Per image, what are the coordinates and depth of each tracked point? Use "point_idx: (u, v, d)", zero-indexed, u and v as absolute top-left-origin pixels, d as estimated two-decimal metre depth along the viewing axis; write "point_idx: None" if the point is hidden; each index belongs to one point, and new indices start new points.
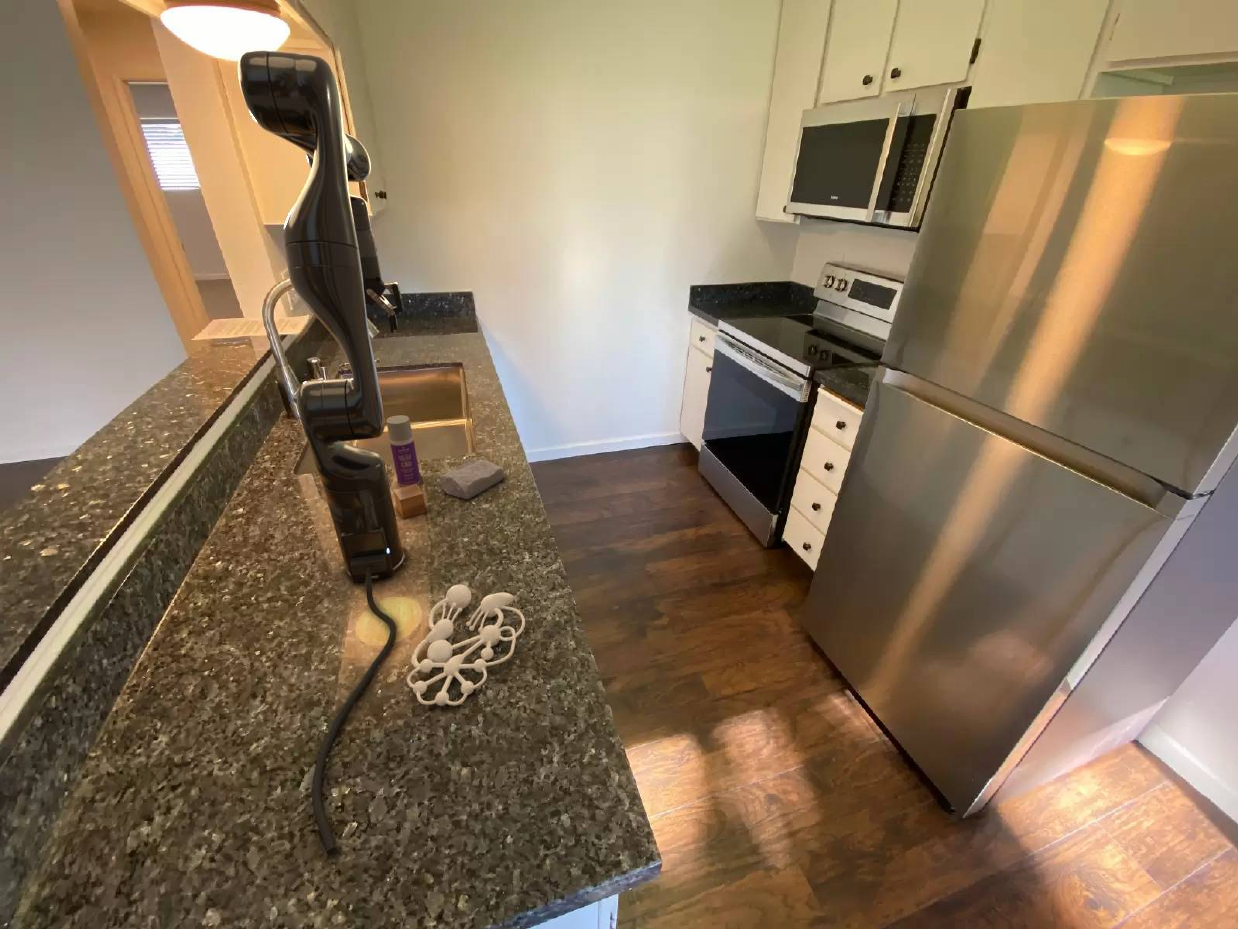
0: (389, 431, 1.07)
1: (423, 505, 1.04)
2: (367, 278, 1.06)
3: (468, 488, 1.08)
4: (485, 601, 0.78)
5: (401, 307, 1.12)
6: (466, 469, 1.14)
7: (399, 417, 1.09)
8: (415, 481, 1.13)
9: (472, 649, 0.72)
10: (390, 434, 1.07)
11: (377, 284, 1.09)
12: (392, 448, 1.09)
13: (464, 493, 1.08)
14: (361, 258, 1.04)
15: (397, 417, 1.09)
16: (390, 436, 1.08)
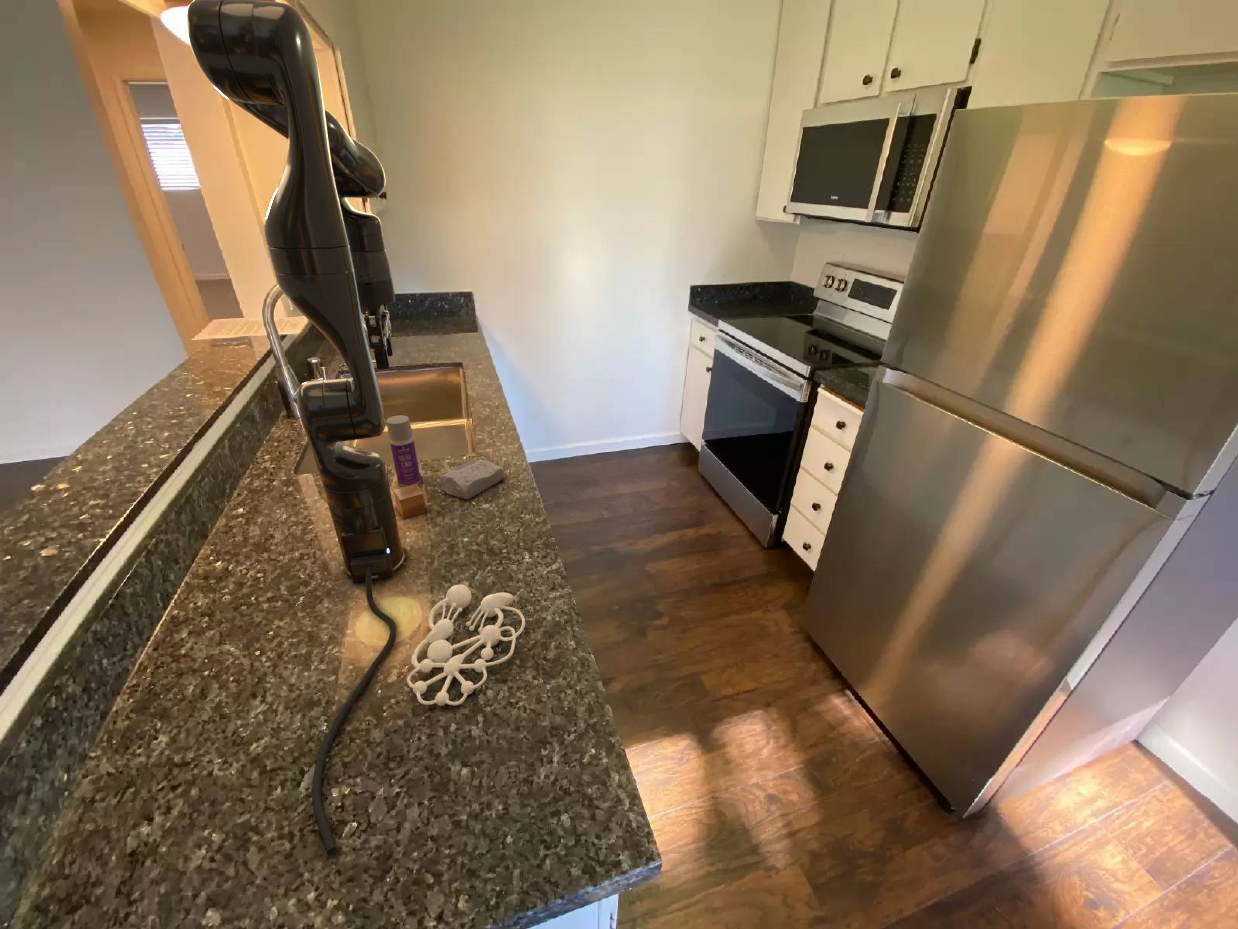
0: (389, 431, 1.07)
1: (423, 505, 1.04)
2: None
3: (468, 488, 1.08)
4: (485, 601, 0.78)
5: None
6: (466, 469, 1.14)
7: (399, 417, 1.09)
8: (415, 481, 1.13)
9: (472, 649, 0.72)
10: (390, 434, 1.07)
11: None
12: (392, 448, 1.09)
13: (464, 493, 1.08)
14: None
15: (397, 417, 1.09)
16: (390, 436, 1.08)
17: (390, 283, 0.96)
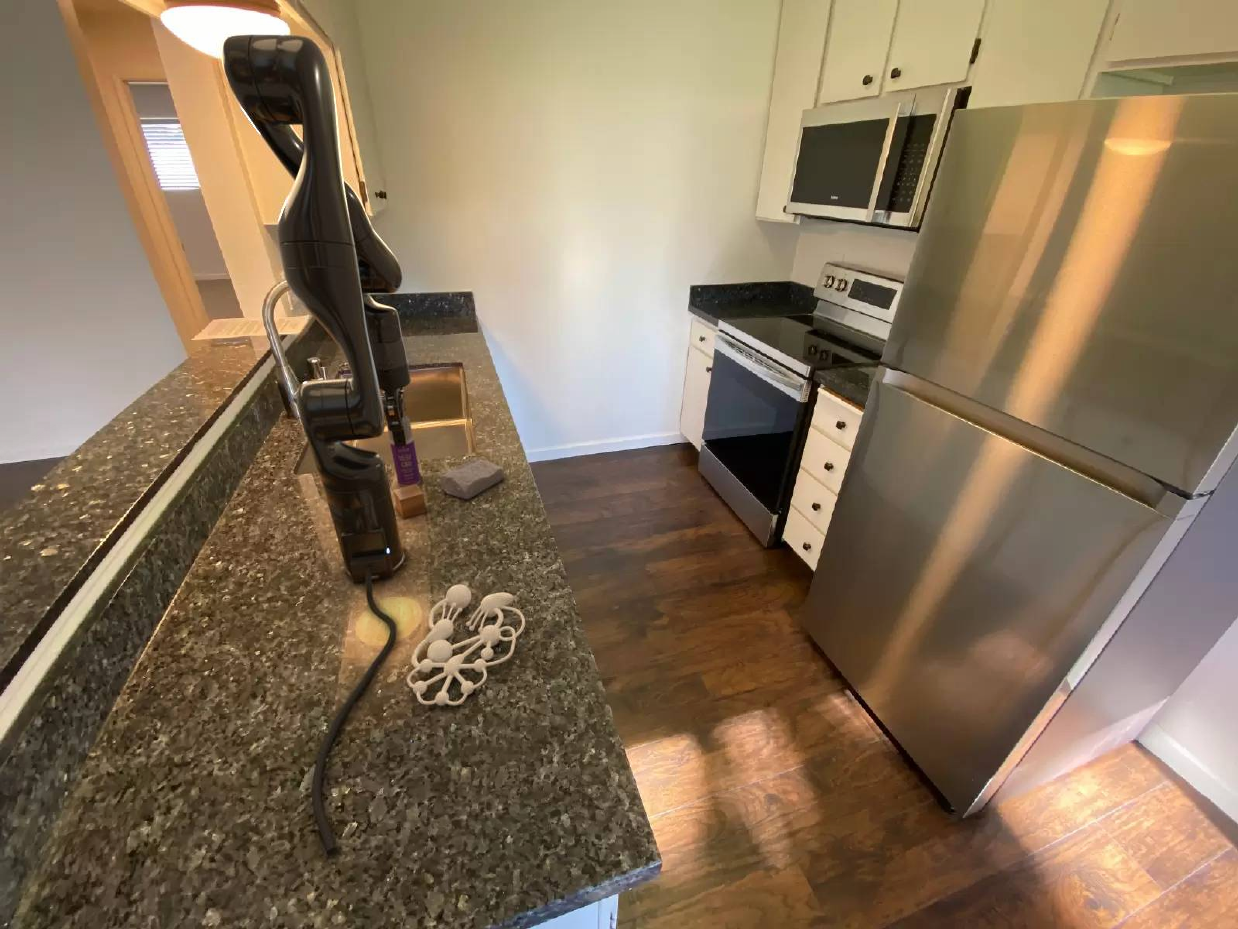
0: (389, 431, 1.07)
1: (423, 505, 1.04)
2: None
3: (468, 488, 1.08)
4: (485, 601, 0.78)
5: (388, 427, 1.03)
6: (466, 469, 1.14)
7: None
8: (415, 481, 1.13)
9: (472, 649, 0.72)
10: (390, 434, 1.07)
11: (384, 396, 1.02)
12: (392, 448, 1.09)
13: (464, 493, 1.08)
14: None
15: None
16: (390, 436, 1.08)
17: (406, 367, 1.02)
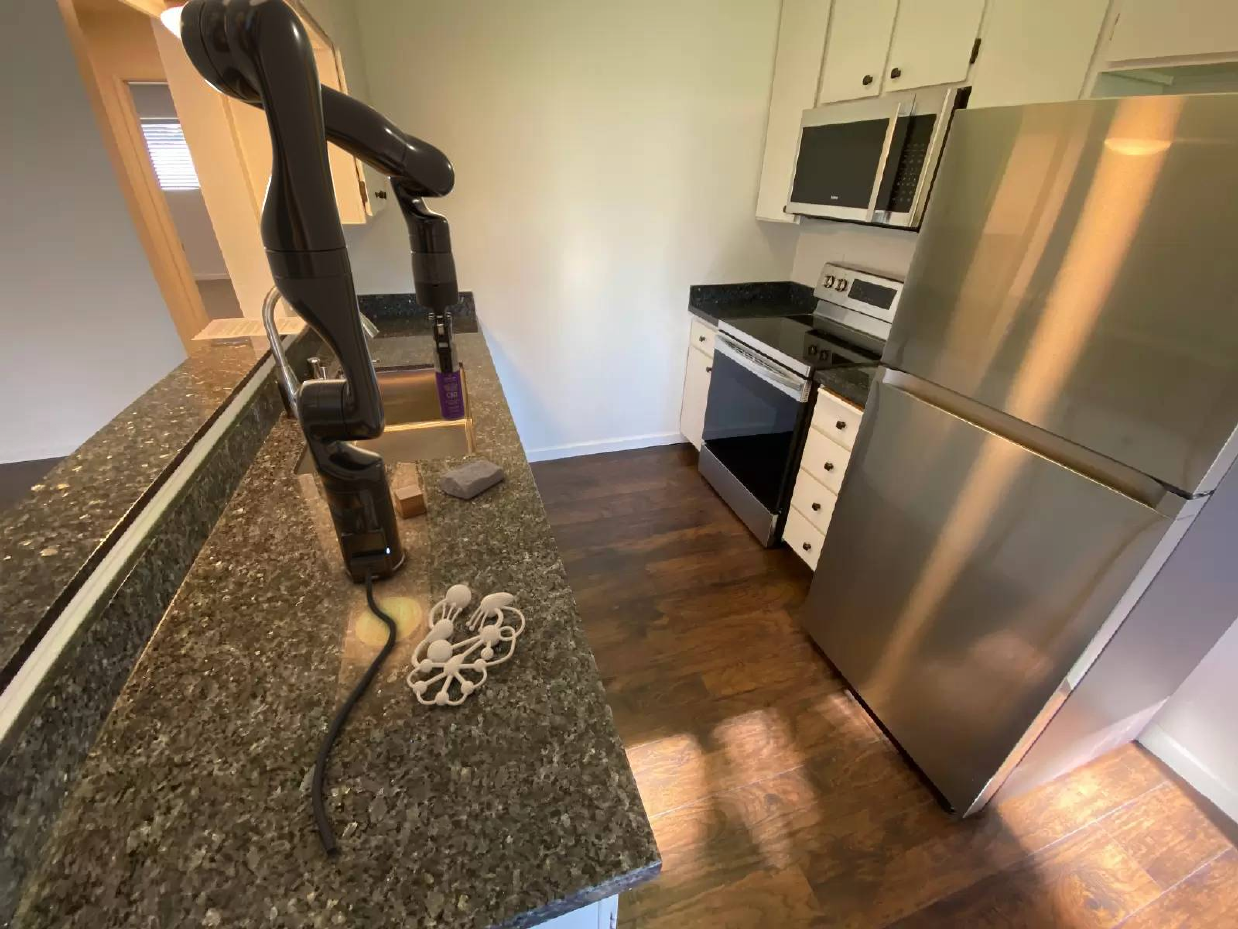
0: (435, 357, 1.00)
1: (423, 505, 1.04)
2: (419, 304, 0.94)
3: (468, 488, 1.08)
4: (485, 601, 0.78)
5: (436, 349, 0.95)
6: (466, 469, 1.14)
7: (445, 343, 1.01)
8: (460, 415, 1.06)
9: (472, 649, 0.72)
10: (436, 361, 1.00)
11: (433, 314, 0.94)
12: (437, 376, 1.01)
13: (464, 493, 1.08)
14: (414, 282, 0.93)
15: (443, 343, 1.01)
16: (436, 362, 1.00)
17: (456, 284, 0.95)
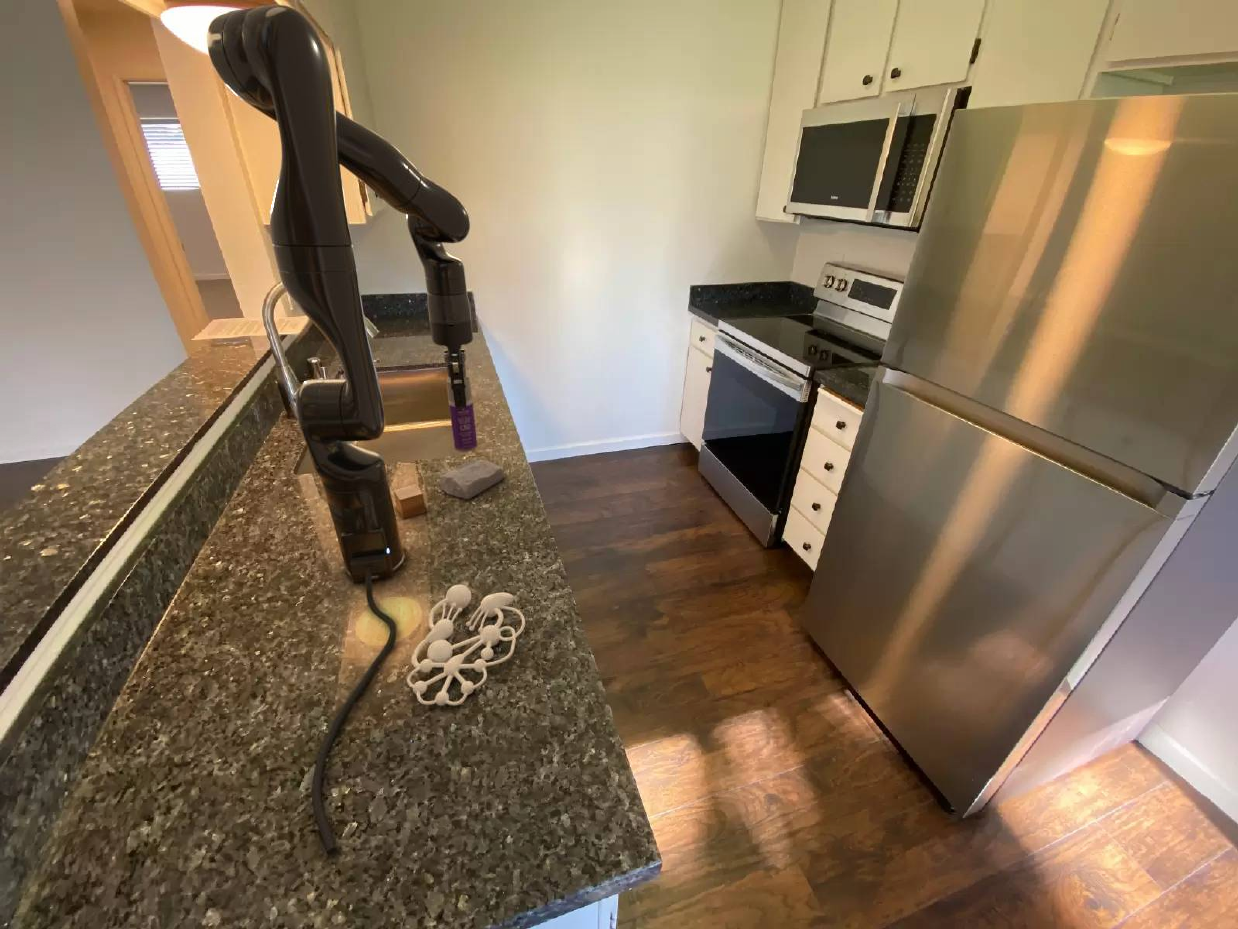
0: (449, 392, 1.03)
1: (423, 505, 1.04)
2: None
3: (468, 488, 1.08)
4: (485, 601, 0.78)
5: (451, 386, 0.98)
6: (466, 469, 1.14)
7: None
8: (473, 446, 1.09)
9: (472, 649, 0.72)
10: (450, 395, 1.03)
11: (448, 352, 0.97)
12: (451, 410, 1.05)
13: (464, 493, 1.08)
14: (430, 322, 0.96)
15: None
16: (450, 397, 1.03)
17: (470, 323, 0.98)
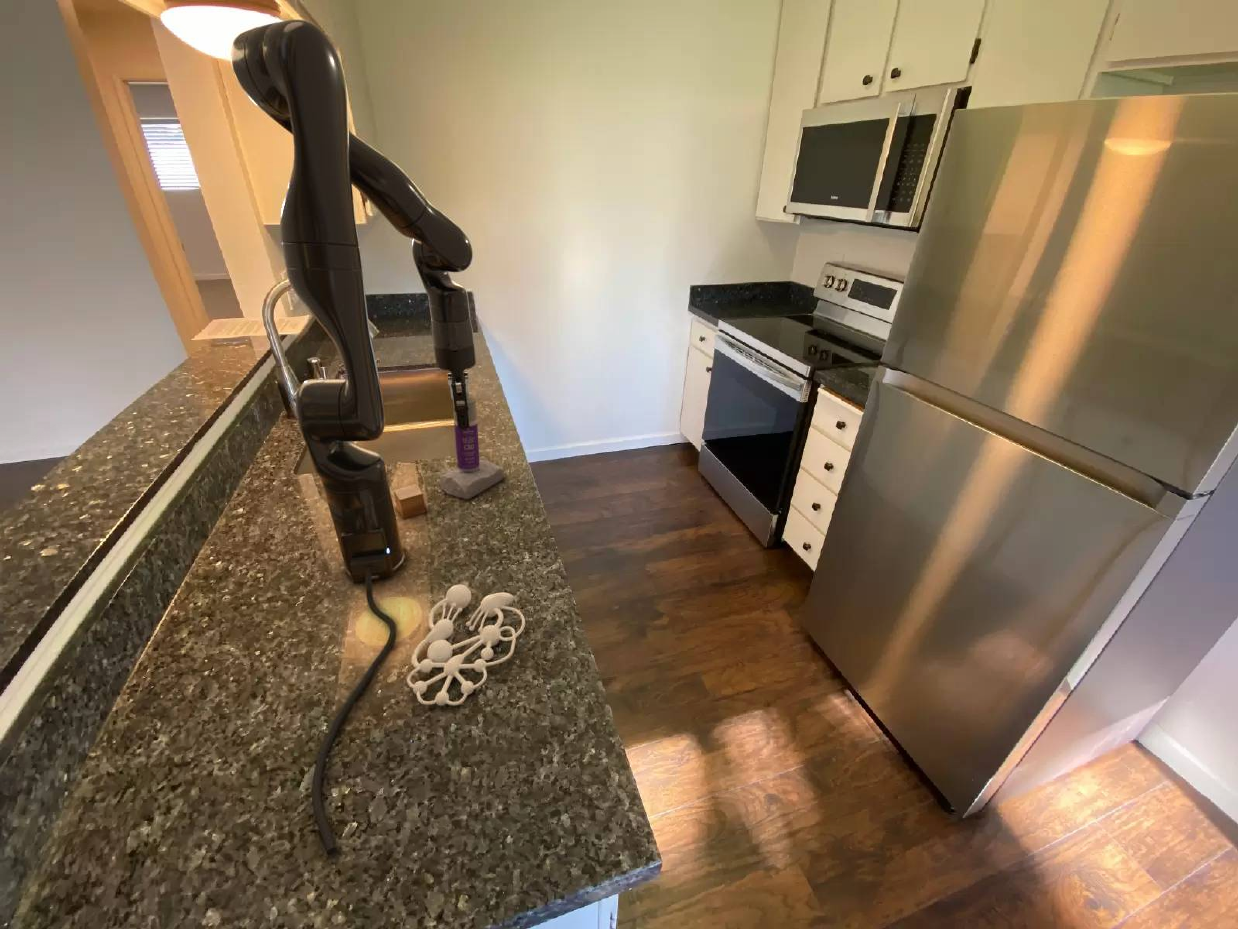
0: None
1: (423, 505, 1.04)
2: (438, 367, 1.00)
3: (468, 488, 1.08)
4: (485, 601, 0.78)
5: (454, 408, 0.99)
6: None
7: None
8: (475, 466, 1.11)
9: (472, 649, 0.72)
10: (456, 415, 1.06)
11: (451, 376, 1.00)
12: (456, 430, 1.08)
13: (464, 493, 1.08)
14: (434, 347, 0.98)
15: None
16: (456, 417, 1.07)
17: (473, 348, 1.00)
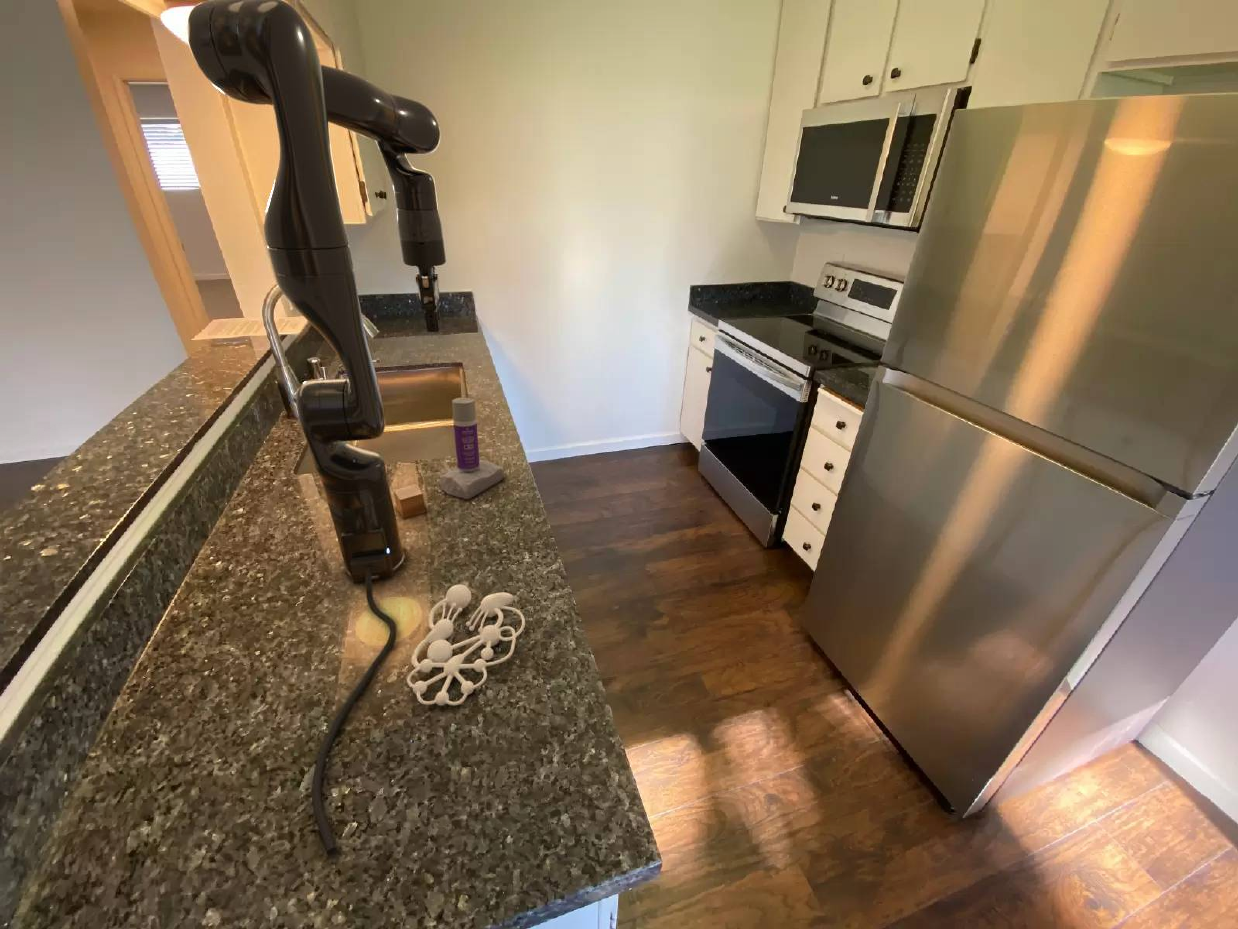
0: (454, 411, 1.06)
1: (423, 505, 1.04)
2: (405, 263, 0.95)
3: (468, 488, 1.08)
4: (485, 601, 0.78)
5: None
6: None
7: (464, 399, 1.08)
8: (475, 466, 1.11)
9: (472, 649, 0.72)
10: (455, 415, 1.06)
11: (419, 273, 0.95)
12: (456, 430, 1.08)
13: (464, 493, 1.08)
14: (400, 240, 0.93)
15: (462, 399, 1.08)
16: (455, 417, 1.07)
17: (442, 243, 0.95)
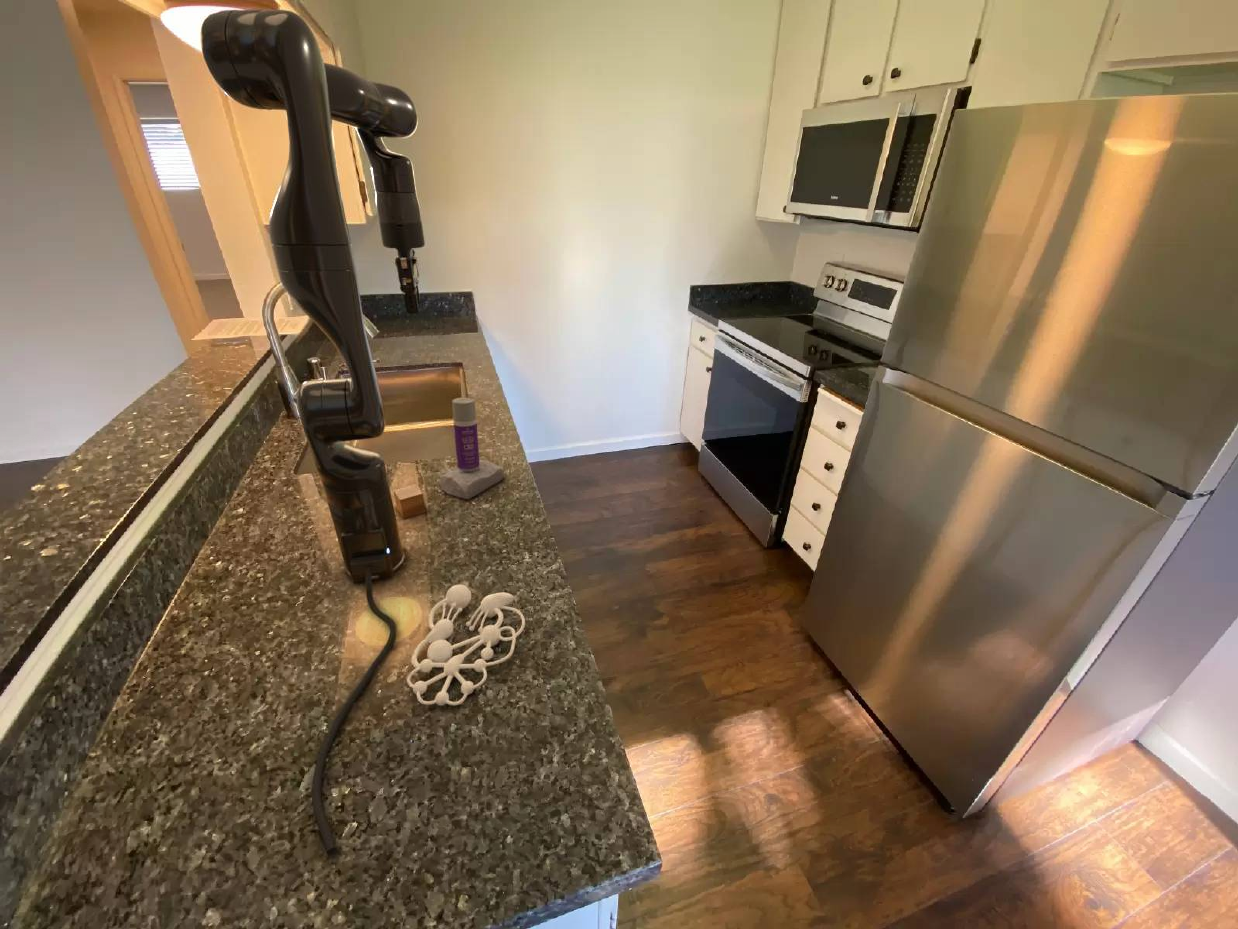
0: (454, 411, 1.06)
1: (423, 505, 1.04)
2: (384, 245, 0.97)
3: (468, 488, 1.08)
4: (485, 601, 0.78)
5: None
6: None
7: (464, 399, 1.08)
8: (475, 466, 1.11)
9: (472, 649, 0.72)
10: (455, 415, 1.06)
11: (398, 255, 0.97)
12: (456, 430, 1.08)
13: (464, 493, 1.08)
14: (379, 223, 0.95)
15: (462, 399, 1.08)
16: (455, 417, 1.07)
17: (420, 226, 0.97)
